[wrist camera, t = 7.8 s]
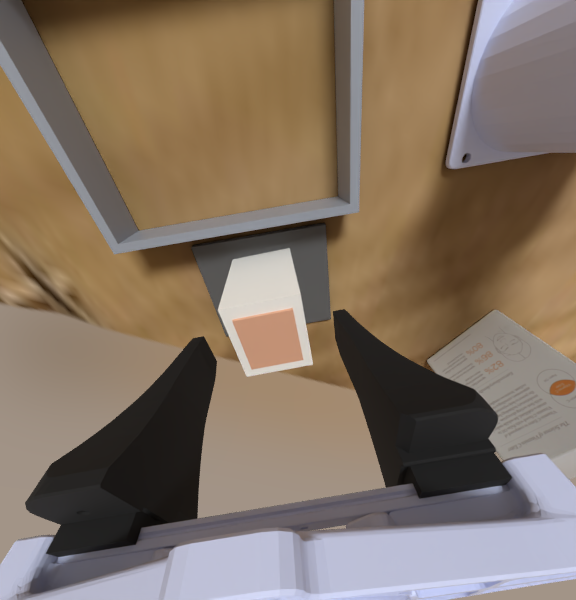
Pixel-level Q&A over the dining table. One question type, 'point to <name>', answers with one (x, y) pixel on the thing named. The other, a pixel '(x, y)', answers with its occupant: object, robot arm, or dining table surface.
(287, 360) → the block
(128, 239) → the grey rectangular frame
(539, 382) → the small box
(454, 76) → the dining table surface
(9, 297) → the dining table surface
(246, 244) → the mat
